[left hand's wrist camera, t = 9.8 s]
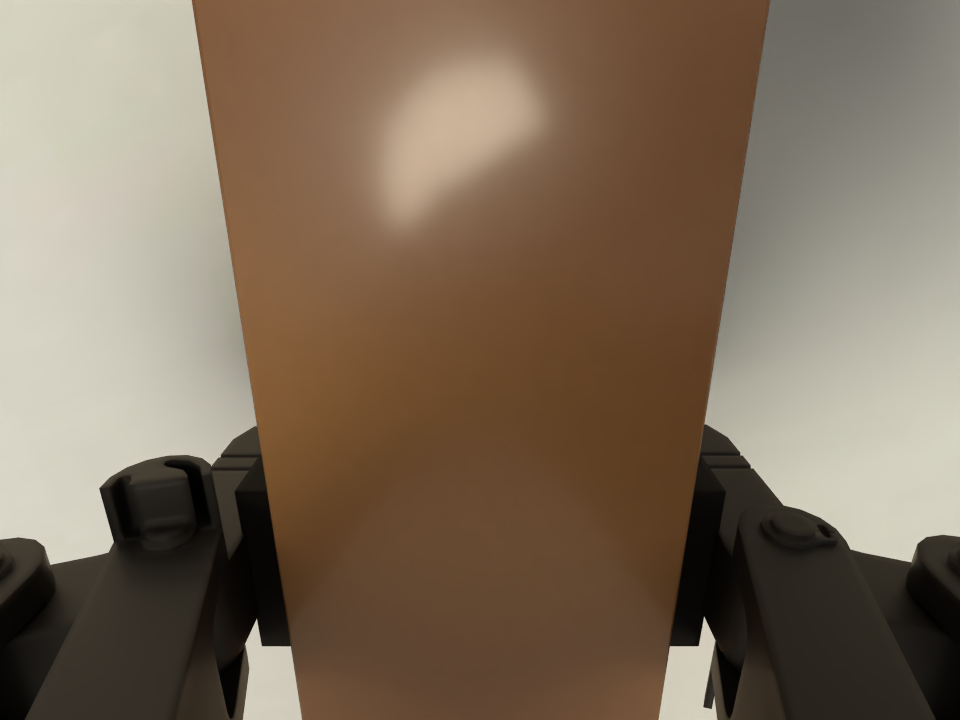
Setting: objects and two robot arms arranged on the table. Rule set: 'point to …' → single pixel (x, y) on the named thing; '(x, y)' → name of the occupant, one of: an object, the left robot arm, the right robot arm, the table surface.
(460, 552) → the beam
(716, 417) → the table surface
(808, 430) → the table surface
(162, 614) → the left robot arm
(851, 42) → the table surface
